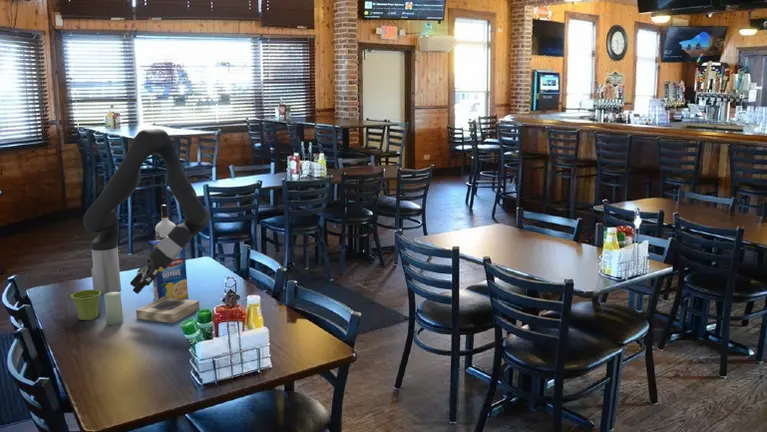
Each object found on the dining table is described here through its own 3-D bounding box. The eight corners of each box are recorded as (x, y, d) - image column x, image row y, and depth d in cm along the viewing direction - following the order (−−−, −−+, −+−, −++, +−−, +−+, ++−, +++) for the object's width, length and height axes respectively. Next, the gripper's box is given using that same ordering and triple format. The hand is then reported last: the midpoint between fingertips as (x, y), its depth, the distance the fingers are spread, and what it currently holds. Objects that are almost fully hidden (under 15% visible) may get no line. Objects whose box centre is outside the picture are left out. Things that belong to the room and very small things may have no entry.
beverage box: (188, 297, 253) (184, 240, 249) (158, 303, 247) (154, 245, 243) (182, 293, 259) (179, 237, 254) (153, 298, 253) (149, 241, 248)
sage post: (103, 324, 226) (100, 295, 224) (114, 319, 231) (111, 291, 229) (115, 325, 224) (113, 297, 222) (126, 320, 229) (124, 292, 227)
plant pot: (108, 317, 233) (105, 293, 231) (80, 324, 226) (78, 299, 224) (96, 311, 239) (93, 287, 237) (69, 318, 232) (66, 294, 230)
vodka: (183, 275, 282) (178, 205, 276) (161, 279, 277) (156, 207, 271) (176, 270, 290) (171, 202, 284) (154, 274, 284) (149, 204, 278)
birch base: (136, 318, 231) (136, 309, 231) (164, 304, 245) (163, 296, 244) (173, 323, 226) (172, 314, 226) (199, 308, 240) (198, 300, 240)
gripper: (154, 241, 236) (122, 277, 233) (160, 250, 223) (126, 288, 220) (171, 254, 239) (139, 289, 236) (177, 263, 226) (144, 301, 224)
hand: (133, 288), depth 228 cm, fingers open, 8 cm apart
